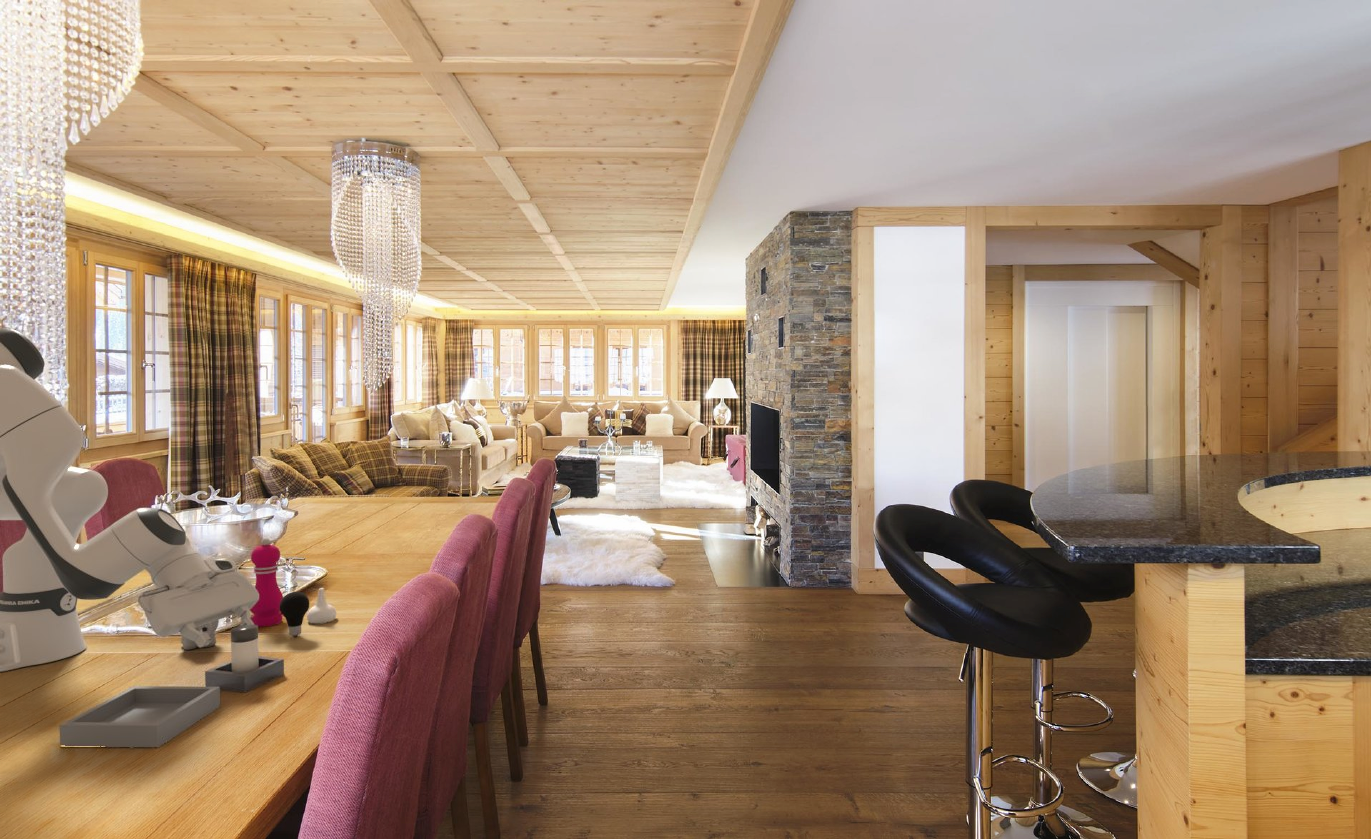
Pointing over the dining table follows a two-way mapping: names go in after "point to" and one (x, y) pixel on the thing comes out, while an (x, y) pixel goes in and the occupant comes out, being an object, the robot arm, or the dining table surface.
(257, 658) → the salt shaker
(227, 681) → the socket collar
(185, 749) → the dining table surface
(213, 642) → the chubby cartoon animal
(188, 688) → the slate tray
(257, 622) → the pepper mill
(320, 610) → the garlic bulb
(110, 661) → the dining table surface
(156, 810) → the dining table surface
